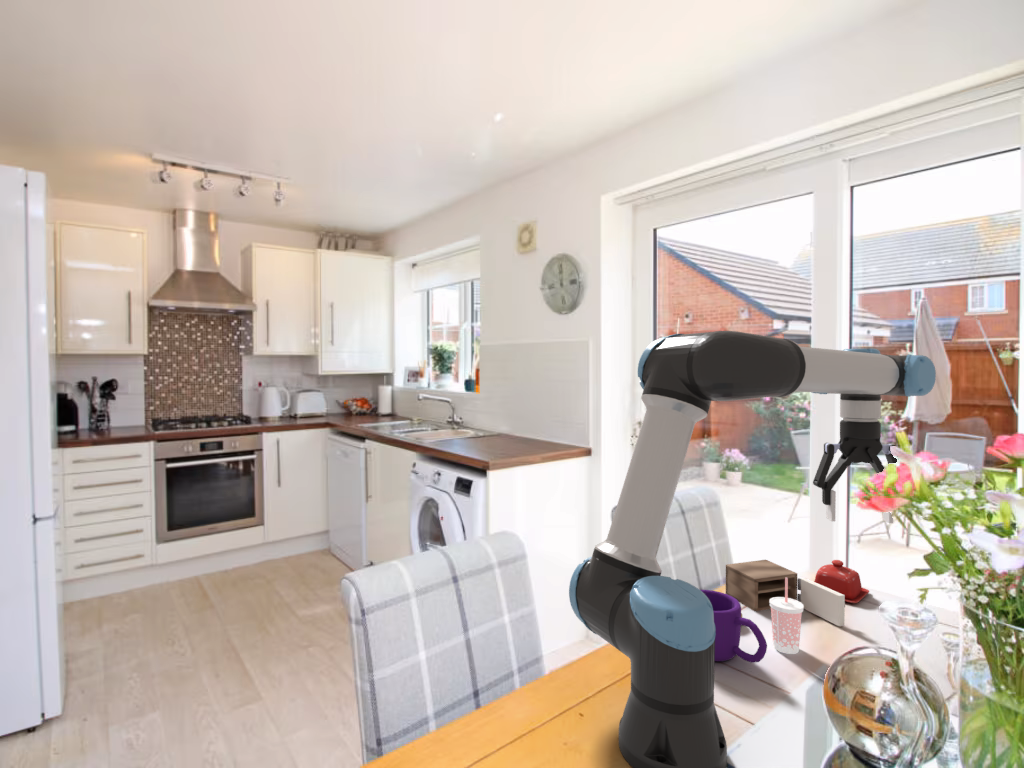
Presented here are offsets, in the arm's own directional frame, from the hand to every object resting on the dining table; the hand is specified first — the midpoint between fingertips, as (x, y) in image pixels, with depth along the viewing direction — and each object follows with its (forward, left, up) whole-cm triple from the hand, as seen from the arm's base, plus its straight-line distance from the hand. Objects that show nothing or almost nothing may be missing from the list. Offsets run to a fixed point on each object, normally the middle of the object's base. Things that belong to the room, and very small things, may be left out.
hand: (859, 520), depth 120 cm
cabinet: (-12, +16, -22) cm, 30 cm away
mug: (-38, -4, -22) cm, 44 cm away
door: (-6, +10, -22) cm, 25 cm away
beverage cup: (-24, -5, -22) cm, 33 cm away
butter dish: (+9, +13, -23) cm, 28 cm away
